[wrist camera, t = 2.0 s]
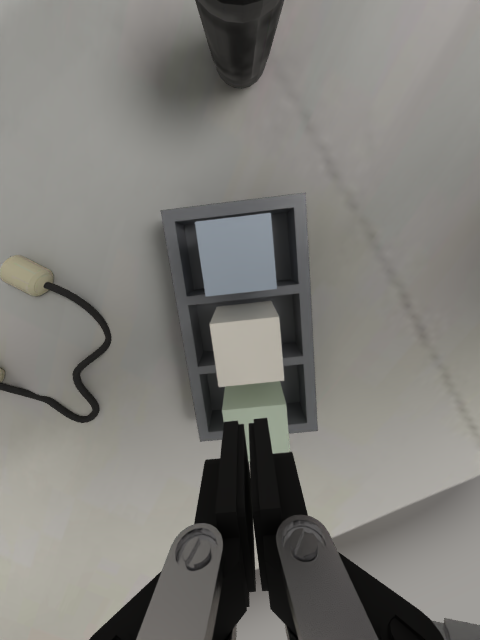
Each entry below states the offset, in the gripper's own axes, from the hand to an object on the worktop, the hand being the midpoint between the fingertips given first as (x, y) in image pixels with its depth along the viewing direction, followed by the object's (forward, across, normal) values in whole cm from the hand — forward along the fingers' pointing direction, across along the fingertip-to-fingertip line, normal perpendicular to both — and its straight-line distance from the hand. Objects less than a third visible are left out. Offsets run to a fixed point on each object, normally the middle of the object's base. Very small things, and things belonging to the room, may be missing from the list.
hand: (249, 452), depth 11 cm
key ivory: (+16, 0, 0) cm, 16 cm away
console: (+21, 0, 0) cm, 21 cm away
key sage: (+16, 0, +7) cm, 18 cm away
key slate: (+16, 0, -7) cm, 18 cm away
